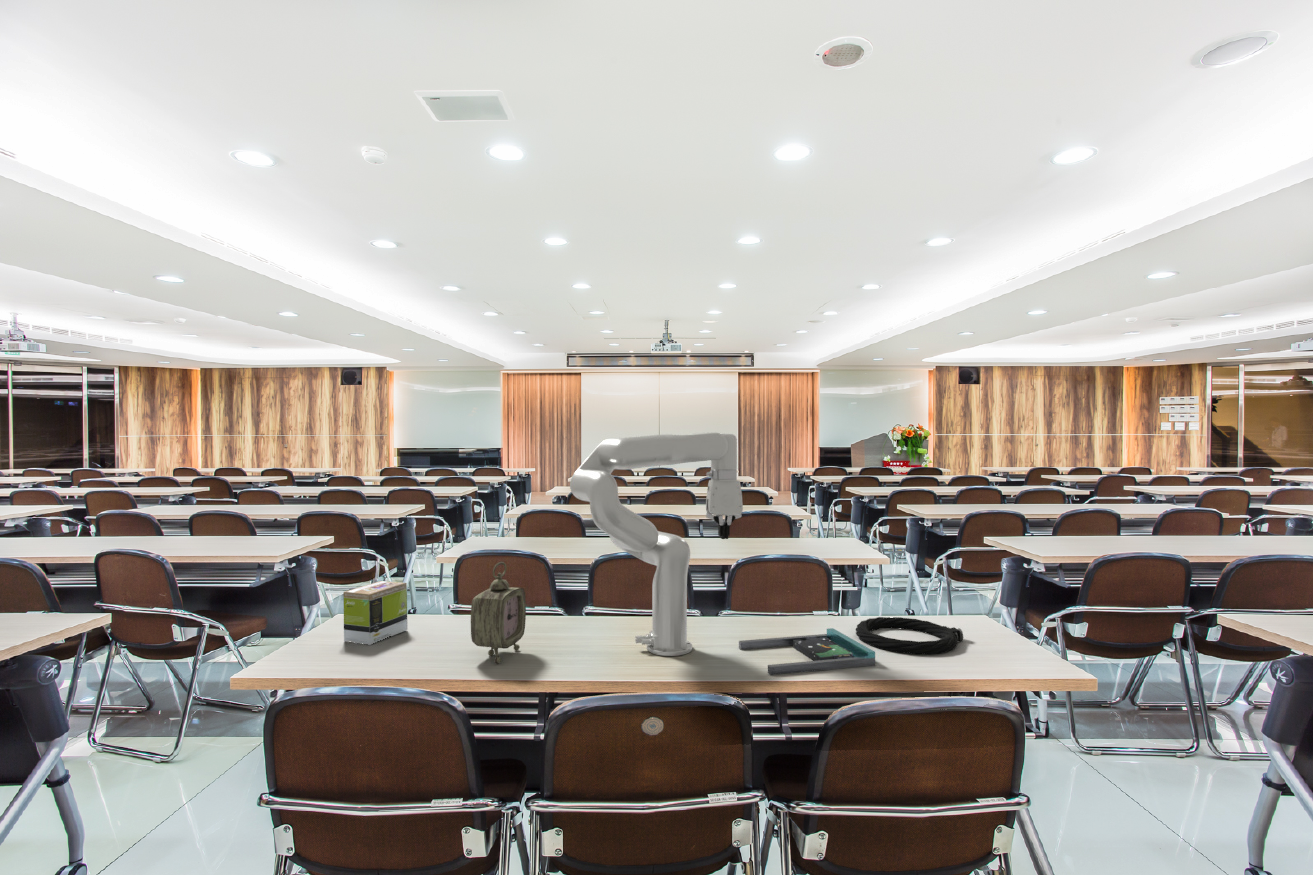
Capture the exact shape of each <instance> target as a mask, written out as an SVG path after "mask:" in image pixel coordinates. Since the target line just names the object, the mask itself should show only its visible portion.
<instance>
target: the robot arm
mask: <svg viewBox="0 0 1313 875" xmlns="http://www.w3.org/2000/svg"><path fill="white" fill-rule="evenodd" d="M737 440H738V439H737V436H736V435H735V434H733V433H721V432H696V433H692V434H667V433H666V434H653V435H652V434H651V435H644V436H643V435H642V436H631V437H630V436H629V437H628V436H627V437H611V438H610V437H609V438H606V439H604V440H602V442H600V443H599V444H598V445H597V446H596V447H595V448H594V449H593V450H592V452H590V454H589V455H588V456H587V457H586V459H584V461H583V462H582V463H581V464H580V466H579V467H578V468H577V469H576V470H575V472H573V474H572V476H571V478H570V481H569V482H570V483H569V489H570V492H571V493H572V495H573V496H574V497H575V498H576V499H578V500H580V501H582V502H589V510H590V515H591V517H592V521H593V523H594V525H595V526H596V527H597V528H598V529H599V530H600V531H602V533H603V532H604V533H605V534H607V535H609V538H610V540H611V543H612V544H614V546H616V547H617V548H618V549H620V550H622V551H624V552H625V553H628V554H630V555H631V556H633V557H635V558H637V559H639V560H641V561H643V562H644V563H647V564H649V565H654V566H656V568H655V569H656V570H655V572H654V575H653V579H652V589H651V590H652V595H651V596H652V598H651V599H652V601H651V602H652V605H651V607H652V609H651V610H652V611H651V612H652V613H651V614H652V615H651V616H652V619H651V620H652V626H651V627H652V628H651V629H652V630H649V633H647V634H646V635H635V638H634V639H635V640H634V641H635V644H641V645H642V646H643V645H646V649H647V651H648V652H649V653H651V654H653V655H655V656H656V655H657V656H663V657H676V656H677V657H678V656H683V655H686V654H689V653H691V652H692V651H693V643H691V642H690V641H688V640H687V639H688V638H687V636H688V633H687V632H688V628H687V627H688V622H687V621H688V616H687V615H688V611H687V610H688V603H687V602H688V599H687V598H688V586H687V584H688V572H689V566H690V560H691V549H690V545H689V544H688V542H687V541H686V540H685V538H683V537H681V536H680V535H677V534H673V533H668V532H664V531H659V530H658V529H657V527H656V526H655V524H654V523H653V522H652V521H650V520H649V519H648V518H647V519H646V518H645V517H643V516H641V515H640V514H638V513H636V512H634V511H633V510H630V509H629V508H627V507H626V506H624V505H623V504H622V503H621V501H620V498H619V488H618V483H617V481H616V479H615V477H614V476H613V474H612V473H613V471H615V470H621V471H622V470H626V471H627V470H634V469H641V468H642V469H643V468H649V467H650V468H651V467H661V466H671V465H674V466H675V465H680V464H685V463H697V462H698V463H699V462H707V461H710V471H706V474H705V475H706V477H708V478H710V479H709V480H708V484H707V489H706V490H707V491H706V498H705V499H706V500H705V510H706V514H705V518H706V519H709V520H713V521H714V522H716V525H717V535H718V537H719V538H720V539H722V540H728V539H729V537H730V526H731V525H732V523H733V522H734V521H735V520H738V519H740V518H742V514H743V511H744V510H743V509H744V507H743V506H744V504H743V493H742V486H741V482H740V480H739V479H738V477H737V476H738V473H737V472H738V467H737V466H738V461H737V460H738V459H737V458H738V453H737V452H738V451H737V448H738V446H737V444H738V442H737ZM723 516H724V517H723Z"/></svg>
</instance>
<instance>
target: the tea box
mask: <svg viewBox="0 0 1313 875" xmlns="http://www.w3.org/2000/svg"><path fill="white" fill-rule="evenodd" d="M407 584H408V583H407V582H401V581H400V582H398V581H386V580H379V581H377V582H376V581H375V582H372V583H369V584H366V585H363V586H359V587H356V588H352V589H349V590H345V591H343V641H344V642H345V641H351V642H355V643H354V644H357V643H361V644H360V645H364V644H368V646H371V645H373V643H374V644H376V643H378V642H377V641H379V642H381V641H384V640H386V639H388V638H390V637H389V636H391V637H394V636H396V635H399V634H400V633H403V632H405V631H408V590H407V589H408V588H407V587H408V585H407ZM387 637H388V638H387ZM385 638H386V639H385ZM383 639H384V640H383ZM380 640H381V641H380ZM375 642H376V643H375ZM362 643H363V644H362Z"/></svg>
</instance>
